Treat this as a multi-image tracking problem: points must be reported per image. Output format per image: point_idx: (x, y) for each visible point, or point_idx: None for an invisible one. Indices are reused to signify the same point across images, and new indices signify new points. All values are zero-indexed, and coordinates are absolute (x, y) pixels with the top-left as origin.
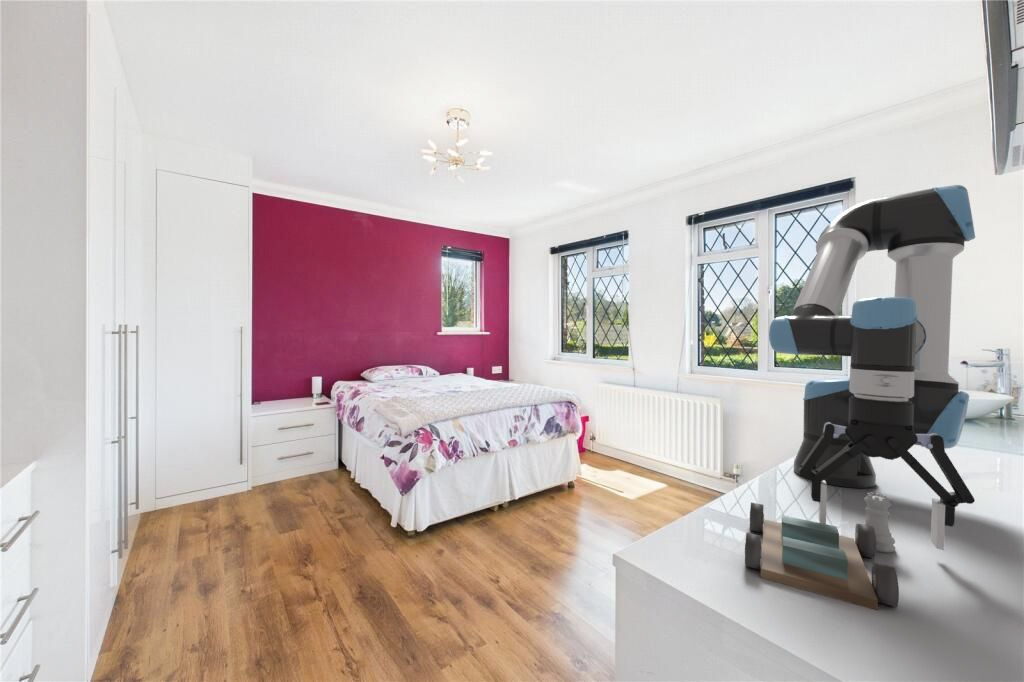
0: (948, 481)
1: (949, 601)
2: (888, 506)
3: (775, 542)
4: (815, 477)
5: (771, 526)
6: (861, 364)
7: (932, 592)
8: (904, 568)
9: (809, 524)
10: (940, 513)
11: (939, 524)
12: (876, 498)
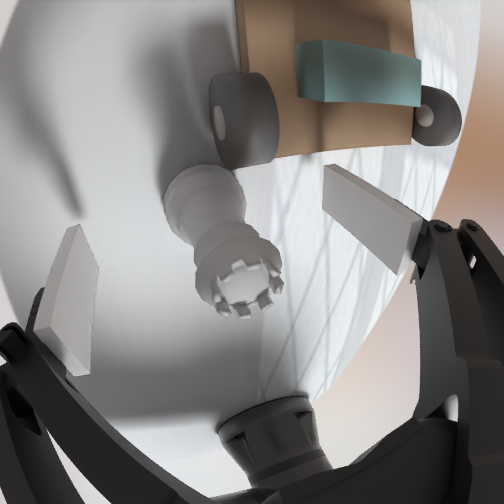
0: (53, 446)
1: (76, 3)
2: (203, 258)
3: (397, 29)
4: (448, 229)
5: (404, 110)
6: None
7: (100, 16)
8: (143, 104)
9: (380, 74)
10: (49, 298)
11: (60, 270)
12: (254, 259)
